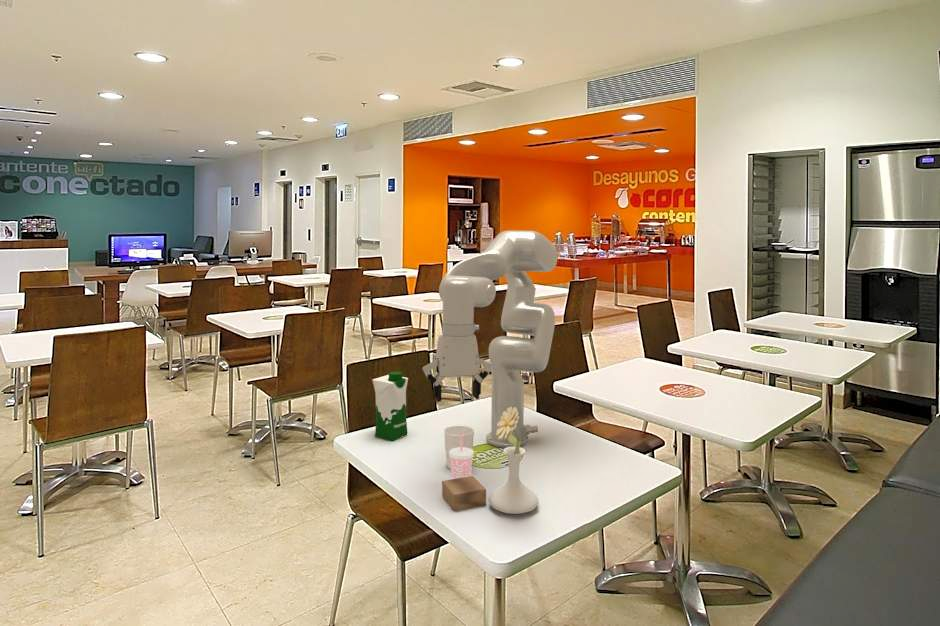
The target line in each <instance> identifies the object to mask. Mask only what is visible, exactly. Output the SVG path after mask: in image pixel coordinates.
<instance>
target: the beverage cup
mask: <svg viewBox="0 0 940 626" xmlns="http://www.w3.org/2000/svg"><path fill="white" fill-rule="evenodd" d="M474 453H475V451H474V449H473V450H472V449H470V448H466V447H462V432H460V447H456V448H453V449H451V450H450V451H449V455H450V461H451V469H450V473H451V479H457V478H463V477H469V476H472V473H473V472H472V470H473V469H472V467H473V457H474Z"/></svg>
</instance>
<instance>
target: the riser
mask: <svg viewBox="0 0 940 626" xmlns="http://www.w3.org/2000/svg"><path fill="white" fill-rule="evenodd" d="M441 497H442V498H443V499H444V501H445V502H446V503H447V504H448V506H449V507H450V509H452V511H453V512H457V511H463V510H467V509H473V508H479V507H483V506H487V488H486V487H485V486H484V485H483V484H482V483H480V481H479V480H478V479H477V478H476V477H475V476H474V475H471V476H469V477H463V478H457V479H452V478H451V479H447V480H442V481H441Z"/></svg>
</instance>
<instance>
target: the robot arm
mask: <svg viewBox="0 0 940 626" xmlns="http://www.w3.org/2000/svg"><path fill="white" fill-rule="evenodd" d="M558 258H559V257H558V252H557V248H556V247H555V244H553V242H552V241H550V240H549V239H548V237H546V236H545V235H544V234H542V233H540V232H538V231H535V230H513V229H511V230H504V231H501V232H499V233H498V234H497V235H496V236H495V237H494V239H492V241H491V242H490V243H489V245H488V246H487V247H486V248H485V250H483V251H482V252H481V253H478V254H476V255H473V256H472V257H469V258H467V259H464V260H461V261H459V262H458V263H455V264H454V265H453V266H452V267H451V268H450V269H449V270H448V271H447V272H446V273H445V275H444V276H443V277H442V279H441V281H440V284H439V288H438V293H439V298H440V300H441V301H442V334H439V335H438V339H437V344H436V353H435V359H434V360H433V361H431V362H429V363H428V364H426V365H424V366H423V367H422V371H423V373H424V374H425V377H426V378H427V379H428V380H429V381H430V382H431V383H432V384H433V385H432V387H433V389H432V390H433V391H432V392H433V393H432V394H433V398H434V399H435V401H436V402H438V403H439V402H442V385H441V383H442V382H443V380H444V379H446V378H447V379H448V378H464V377H472V378H474V379H473V381H472V398H474V399H476V400H479V399H480V395H482V386H481V385H482V383H483V381H484V380H485V378H486V377H487V376H488V375H489V372H491V422H490V423H491V424H490V425H491V428H490V429H491V430H490V431H491V432H489V433H487V435H486V437H485V440H486V443H488V444H489V445H491V446H494V447H498V448H504V449H505V448H507V447H515V446H514V445H512V444H511V443H510V442H509V440H508V438H506V439H505V440H504V438H503V439H502V440H501V439H498V437H499V435H496V433H497V429H498V427H499V426H497V423H498V422H500V420H501V416H503V415H502V414H503V412H504V411H505V412H507V409H508V408H510V407H512V410H513V408H514V407H516V409H517V412H518V416H519V419H518V423H517V425H516V429H515V431H516V433H517V436H518V442H520V447H523V446H525V445H527V444H528V443H529V436H528V435H530V434H531V433H532V434H533V433H538V432H539V427H538V425H531V424H524V422H525V421H524V420H525V419H524V417H525V416H524V413H525V412H524V411H525V382H524V379H523V377H522V375H521V374H520V371H523V372H530V373H531V372H532V373H541V372H544V370H545V369H546V367H547V366H548V363H549V358H550V353H551V349H552V342H553V337H554V333H555V332H554V331H555V325H556V315H555V314H556V313H555V311H554V309H553V308H552V306H551V305H548V304H546V303H540V302H539V303H537V302H534V300H535V297H536V287H535V284H534V283H533V281H532V279H531V278H530V277H529V275H528V273H527V272H538V273H540V272H541V273H547V272H551V271H553V270H554V269H555V268H556V266H557V263H558ZM503 277H505V279H506V280H505V281H506V283H507V284H506V285H507V287H506V294H505V298H504V303H503V308H502V312H501V319H500V327H501V328H502V330H503V331H504V332H506V333H508V334H514V335H521V336H522V335H523V336H534V337H533V338H531V337H530V338H529V337H521V336H520V337H519V336H513V335H512V336H509V335H500V336H498V337H497V336H496V337H495V338H493V339H492V340H491V342H490V343H489V346H488V358H489V362H488V361H486V360H484V359H481V358H480V357H479V346H478V341H477V340H478V339H477V337H476V336H477V335H475V332H476V331H479V330H480V325H479V324H475V322H474V315H475V314H474V313H475V309H474V308H484V307H487V306H490V305H491V304H492V302H494V300H495V298H496V293H497V291H496V290H497V289H496V286H495V283H494V282H493V281H496V280H499V279H501V278H503ZM480 365H481V366H483V368H482V370H481V371H480V370H479V369H480ZM433 369H435V372H436V374H435V375H434V376H433V374H432V372H431V371H432V370H433ZM490 370H491V371H490ZM479 371H480V372H479ZM512 435H513V436H514V437H515V438H516V435H515V432H514V430H513V433H512ZM516 439H517V438H516Z"/></svg>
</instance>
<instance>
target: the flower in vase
mask: <svg viewBox="0 0 940 626" xmlns="http://www.w3.org/2000/svg"><path fill="white" fill-rule="evenodd" d="M502 415H503V416H501V420H500V422H498V423H497V426H499V427H498V429H497V433H496V435H499V437H498V439H501V440H502V439H503V438H504V440H505V439H506V438H508V440H509V442H510V443H511V444H512V445H514V446H515V447H507V448H504V449H503V451H502V452H503V453H504V454H505V456H506V458H507V461H508V479H507V481H506V482H505V483H504V484H501V485H500V486H499V487H497V488H496V489H494V491H492V492H491V494H490V496H489V498H488V502H489V504H490V505H491V507H492V508H493V509H495V510H497V511H499V512H501V513H504V514H509V515H510V514H511V515H512V514H513V515H514V514H515V515H519V514H525V513H528V512H532V511H533V510H535V509H536V508H537V506H538V504H539V498H538V495H536V493H535V492H534V491H533V490H532V489H530V487H528V486H526V485H525V484H524V483H523V482H521V479H520V472H519V471H520V464H521V460H522V457H523V456H524V455H525V453H526V449H524V448H523V447H521V446H520V442H518V436H517V433H516V431H515V429H516V425H517V423H518V419H519V416H518V412H517V409H516V407H514V408H513V410H512V407H510V408H508V409H507V412H505V411H504V412H503V414H502ZM513 430H514V432H515V435H516V438H517V439H516V438H515V437H514V436H513V435H512V433H513Z"/></svg>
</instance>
